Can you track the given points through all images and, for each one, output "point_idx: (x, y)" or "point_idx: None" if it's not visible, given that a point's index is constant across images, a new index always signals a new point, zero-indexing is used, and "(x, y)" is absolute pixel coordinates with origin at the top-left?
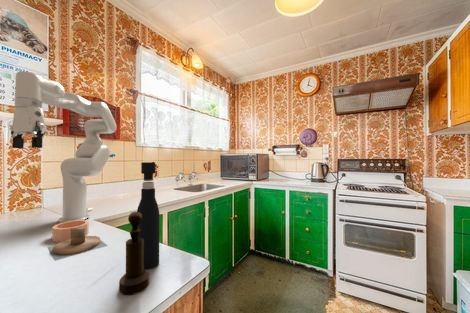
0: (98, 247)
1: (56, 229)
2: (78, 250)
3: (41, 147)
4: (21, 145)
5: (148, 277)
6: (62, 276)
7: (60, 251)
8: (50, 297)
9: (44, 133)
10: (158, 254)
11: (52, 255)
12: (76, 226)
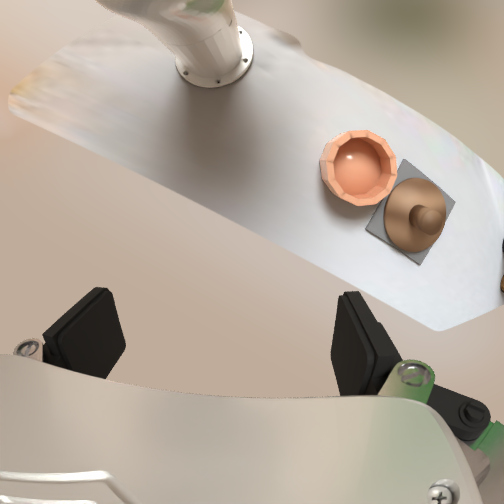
0: (448, 212)
1: (361, 205)
2: (436, 238)
3: (356, 296)
4: (103, 315)
5: None
6: (450, 286)
7: (417, 251)
8: (460, 313)
9: (473, 402)
10: None
11: (404, 253)
12: (390, 181)
